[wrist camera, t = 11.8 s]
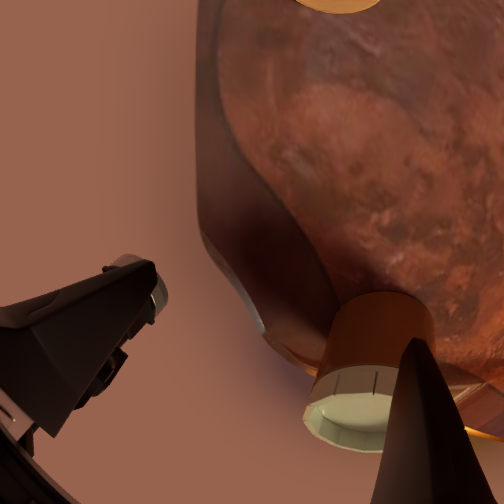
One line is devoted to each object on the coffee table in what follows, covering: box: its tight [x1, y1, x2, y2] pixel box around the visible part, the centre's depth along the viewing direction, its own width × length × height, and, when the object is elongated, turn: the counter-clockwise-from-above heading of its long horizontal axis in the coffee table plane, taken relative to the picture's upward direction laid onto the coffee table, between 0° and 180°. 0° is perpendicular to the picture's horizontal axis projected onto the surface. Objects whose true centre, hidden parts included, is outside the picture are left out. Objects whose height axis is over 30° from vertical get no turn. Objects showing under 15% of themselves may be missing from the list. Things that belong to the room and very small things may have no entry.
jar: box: [302, 291, 436, 453], centre depth 19 cm, size 9×9×9 cm
